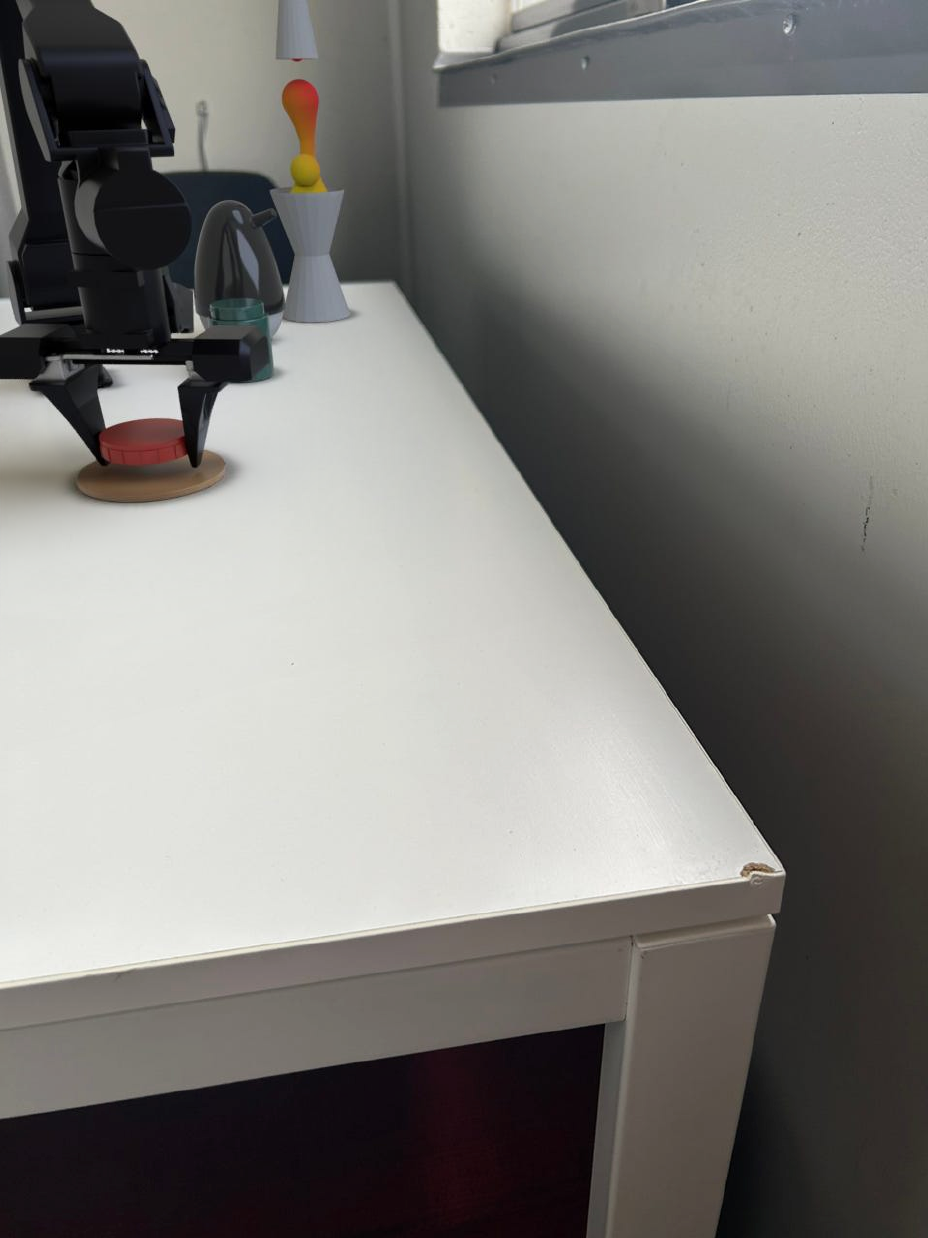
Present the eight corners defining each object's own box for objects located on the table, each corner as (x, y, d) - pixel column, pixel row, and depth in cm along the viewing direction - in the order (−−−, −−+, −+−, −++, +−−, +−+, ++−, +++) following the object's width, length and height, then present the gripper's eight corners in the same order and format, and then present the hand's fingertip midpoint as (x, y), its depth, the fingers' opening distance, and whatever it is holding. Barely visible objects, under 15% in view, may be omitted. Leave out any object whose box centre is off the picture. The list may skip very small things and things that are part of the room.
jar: (209, 371, 103) (199, 300, 99) (265, 365, 105) (258, 295, 102) (223, 385, 98) (213, 311, 95) (281, 378, 100) (274, 305, 97)
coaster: (69, 464, 78) (68, 458, 78) (208, 444, 82) (207, 438, 82) (87, 512, 69) (86, 505, 69) (242, 486, 73) (241, 480, 73)
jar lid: (125, 472, 71) (121, 452, 70) (87, 449, 75) (83, 430, 74) (210, 451, 74) (208, 432, 74) (170, 430, 79) (167, 412, 78)
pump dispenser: (271, 353, 110) (256, 205, 102) (184, 349, 112) (164, 204, 104) (302, 333, 118) (291, 195, 111) (221, 329, 120) (205, 194, 113)
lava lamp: (283, 309, 131) (254, -2, 114) (351, 307, 132) (333, -2, 115) (279, 323, 123) (248, -8, 106) (352, 321, 124) (332, -8, 107)
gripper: (276, 233, 74) (295, 434, 82) (37, 233, 76) (77, 430, 83) (235, 256, 64) (261, 482, 72) (-39, 256, 66) (14, 477, 73)
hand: (151, 465), depth 75 cm, fingers closed on jar lid, 7 cm apart
